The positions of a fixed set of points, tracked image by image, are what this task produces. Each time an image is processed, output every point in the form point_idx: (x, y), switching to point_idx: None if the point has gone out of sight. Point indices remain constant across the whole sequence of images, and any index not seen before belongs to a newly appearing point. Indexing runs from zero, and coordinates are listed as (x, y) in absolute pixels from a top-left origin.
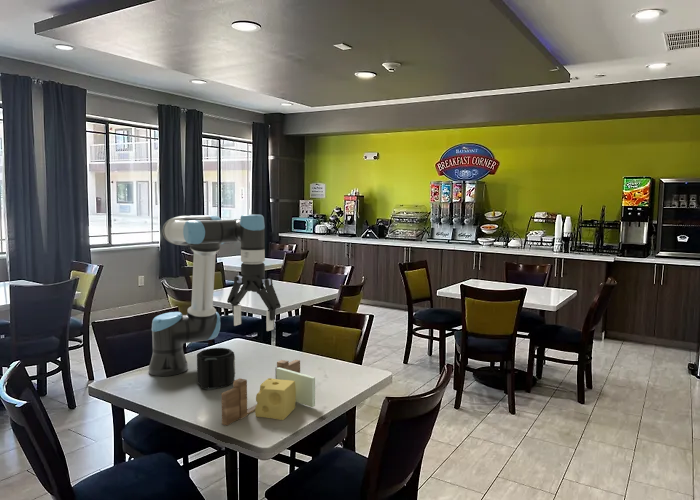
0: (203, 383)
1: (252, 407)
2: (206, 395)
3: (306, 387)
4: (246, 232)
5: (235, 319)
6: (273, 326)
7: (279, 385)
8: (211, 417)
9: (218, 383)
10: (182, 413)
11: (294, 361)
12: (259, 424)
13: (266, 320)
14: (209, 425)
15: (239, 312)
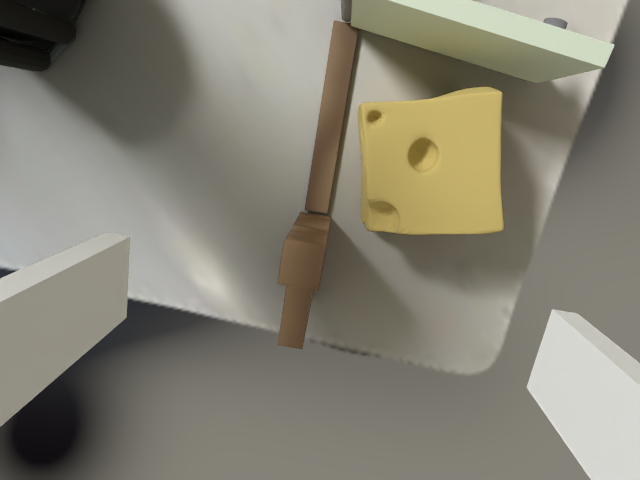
0: (23, 68)
1: (317, 162)
2: (90, 113)
3: (539, 63)
4: None
5: (86, 349)
6: (593, 330)
7: (456, 179)
8: (232, 267)
9: (66, 24)
10: (131, 272)
11: None
12: (401, 260)
13: (583, 467)
14: (263, 315)
15: (35, 315)
